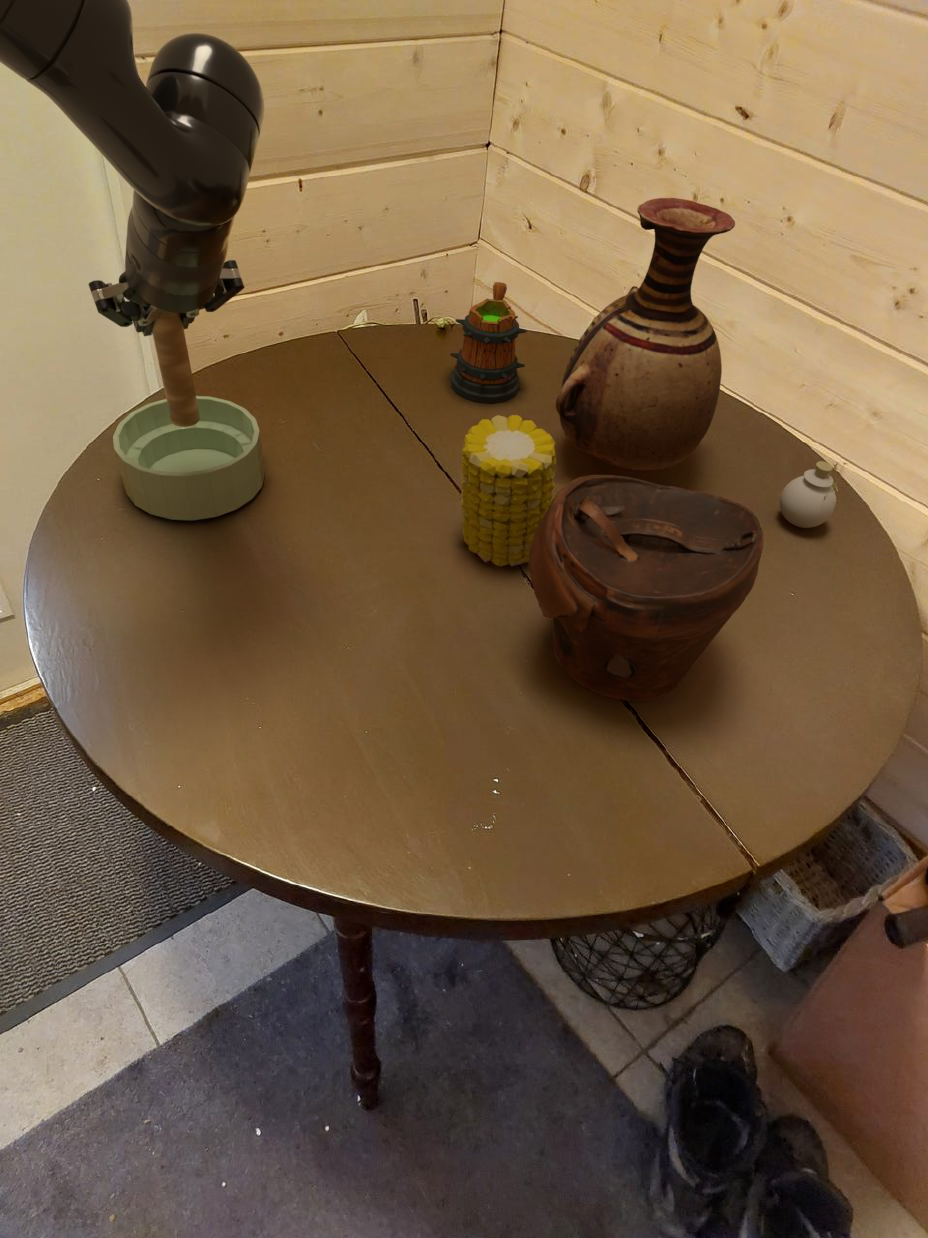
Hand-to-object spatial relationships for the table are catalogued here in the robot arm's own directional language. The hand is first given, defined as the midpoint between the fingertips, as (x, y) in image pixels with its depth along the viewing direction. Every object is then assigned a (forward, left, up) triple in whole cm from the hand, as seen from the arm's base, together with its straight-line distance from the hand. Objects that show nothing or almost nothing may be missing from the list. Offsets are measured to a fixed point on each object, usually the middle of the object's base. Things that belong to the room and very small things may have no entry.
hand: (162, 322), depth 83 cm
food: (+30, -21, -18) cm, 41 cm away
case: (+35, -39, -18) cm, 56 cm away
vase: (+51, -10, -18) cm, 55 cm away
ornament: (+66, -27, -18) cm, 74 cm away
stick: (0, -2, -10) cm, 10 cm away
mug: (+41, +12, -18) cm, 47 cm away
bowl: (0, -2, -18) cm, 18 cm away
